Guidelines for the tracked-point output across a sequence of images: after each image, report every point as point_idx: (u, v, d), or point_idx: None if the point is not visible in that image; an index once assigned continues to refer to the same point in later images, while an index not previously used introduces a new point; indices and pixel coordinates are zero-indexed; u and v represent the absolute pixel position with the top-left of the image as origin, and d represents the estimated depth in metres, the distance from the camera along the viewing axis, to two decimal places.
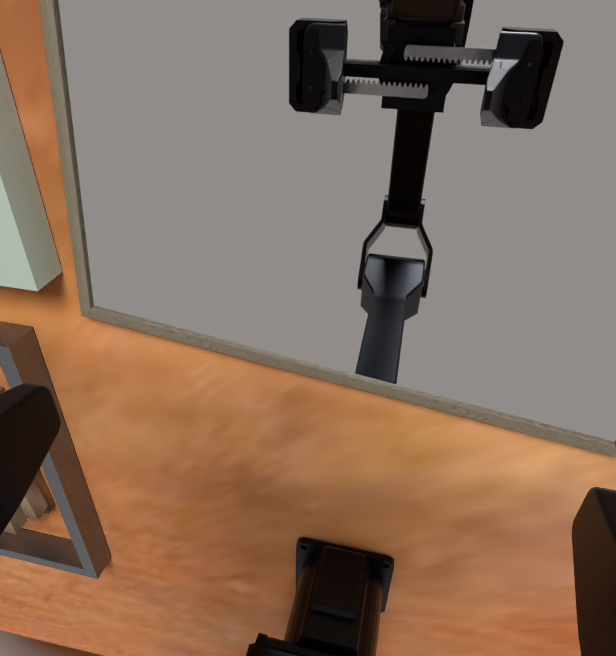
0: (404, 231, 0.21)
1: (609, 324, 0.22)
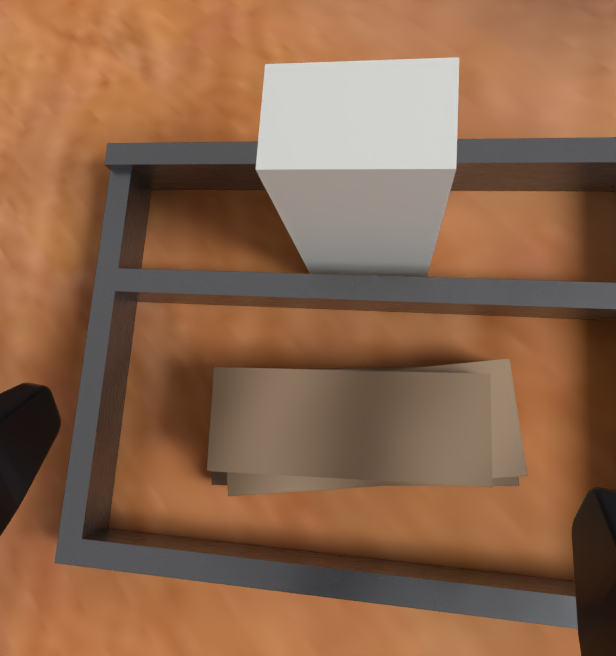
0: None
1: None
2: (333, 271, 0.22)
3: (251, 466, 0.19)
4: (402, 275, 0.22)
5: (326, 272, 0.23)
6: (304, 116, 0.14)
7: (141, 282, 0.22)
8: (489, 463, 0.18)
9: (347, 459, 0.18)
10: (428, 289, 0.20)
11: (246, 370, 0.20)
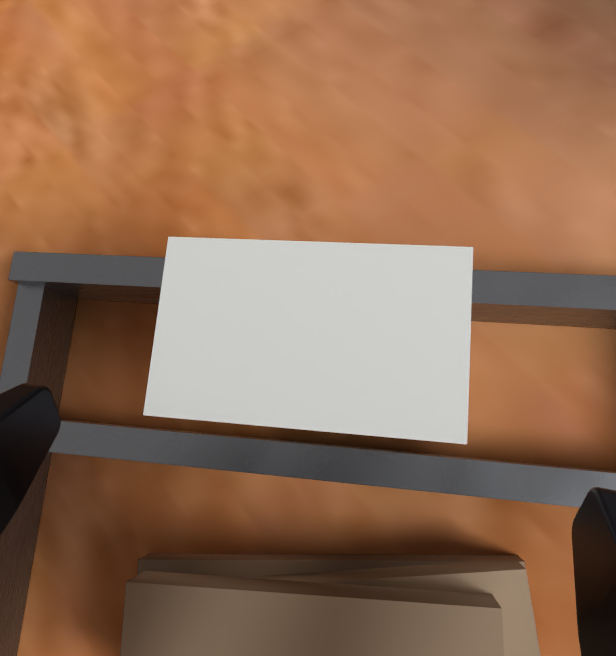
0: None
1: None
2: None
3: None
4: None
5: None
6: (225, 329, 0.08)
7: None
8: None
9: None
10: (422, 472, 0.15)
11: (170, 588, 0.14)
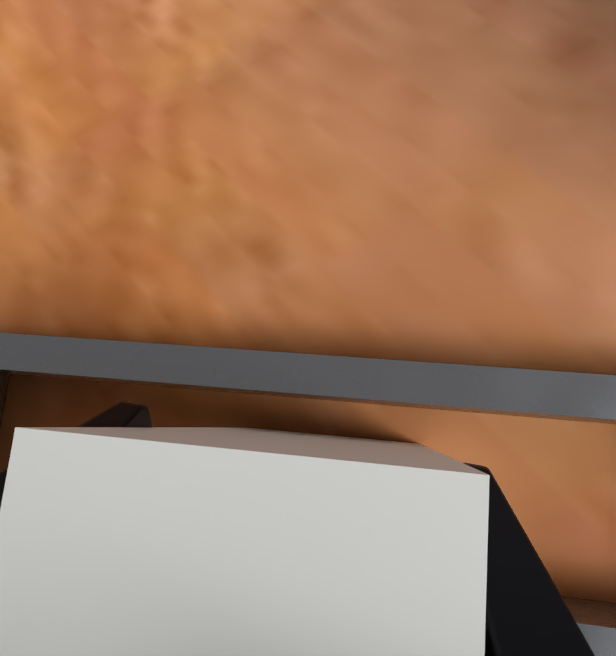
0: None
1: None
2: None
3: None
4: None
5: None
6: (93, 592, 0.05)
7: None
8: None
9: None
10: None
11: None
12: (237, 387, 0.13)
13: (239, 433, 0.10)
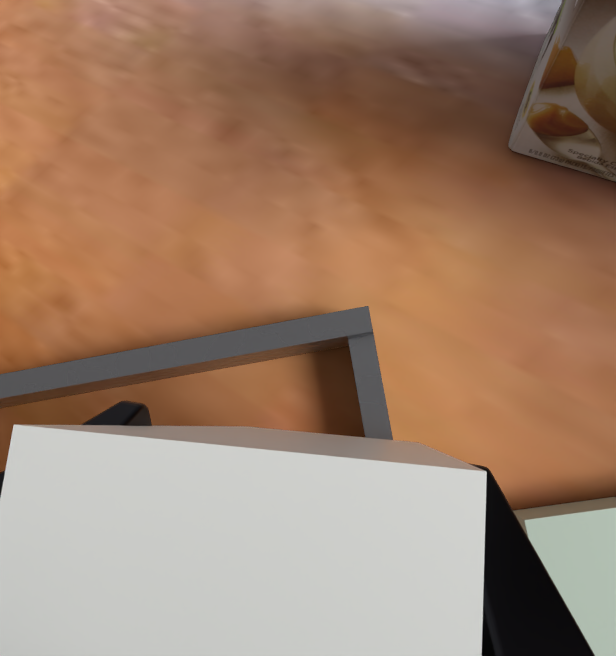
0: None
1: None
2: None
3: None
4: None
5: None
6: (90, 588, 0.05)
7: None
8: None
9: None
10: None
11: None
12: (40, 390, 0.21)
13: (238, 431, 0.10)
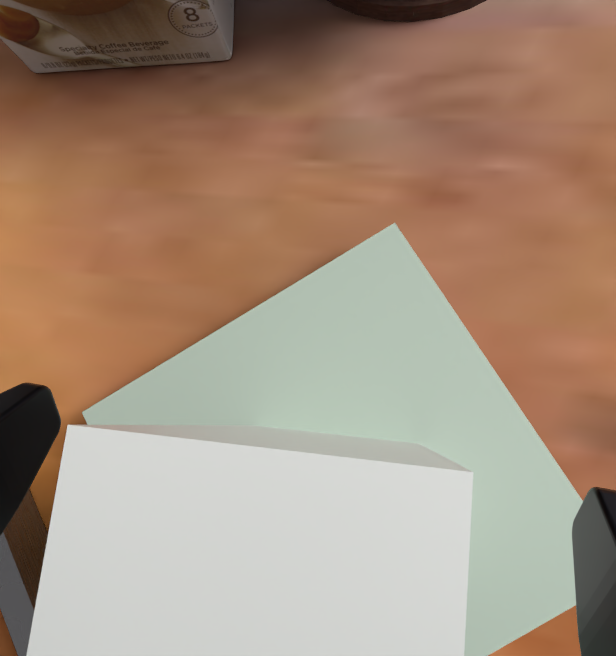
0: None
1: None
2: None
3: None
4: None
5: None
6: (134, 565, 0.06)
7: None
8: None
9: None
10: None
11: None
12: None
13: (252, 431, 0.11)
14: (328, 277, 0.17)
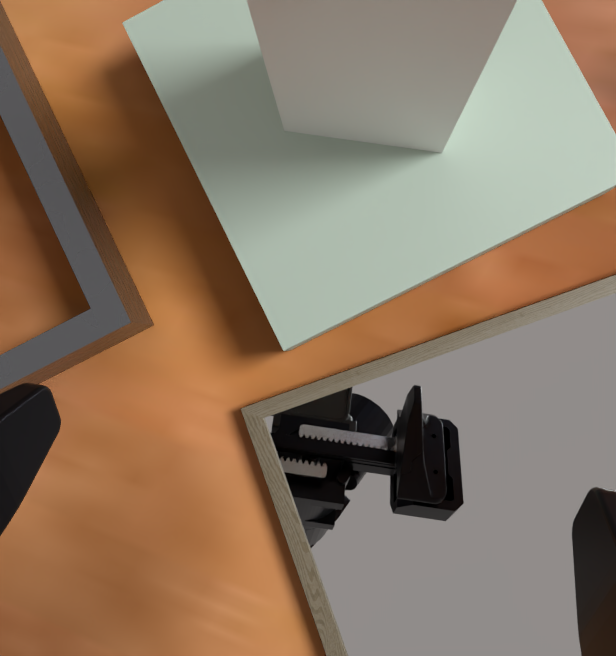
0: None
1: None
2: (316, 126, 0.16)
3: None
4: (411, 143, 0.16)
5: (306, 127, 0.16)
6: None
7: None
8: None
9: None
10: None
11: None
12: None
13: None
14: None
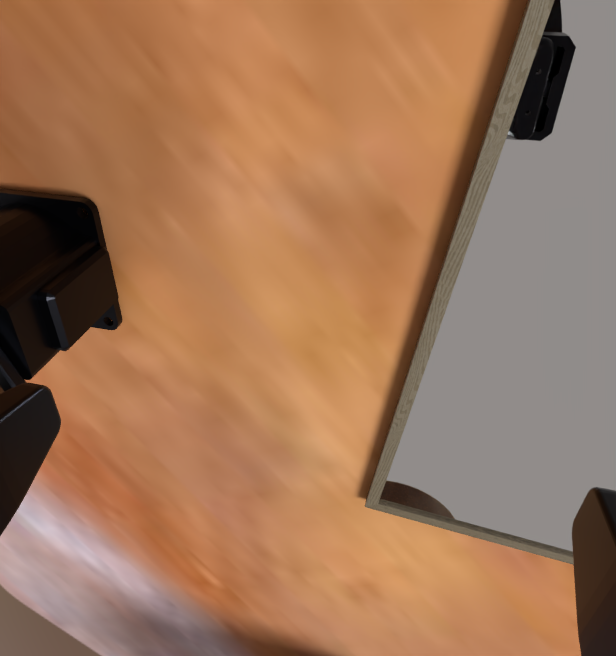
0: None
1: (513, 495, 0.26)
2: None
3: None
4: None
5: None
6: None
7: None
8: None
9: None
10: None
11: None
12: None
13: None
14: None
